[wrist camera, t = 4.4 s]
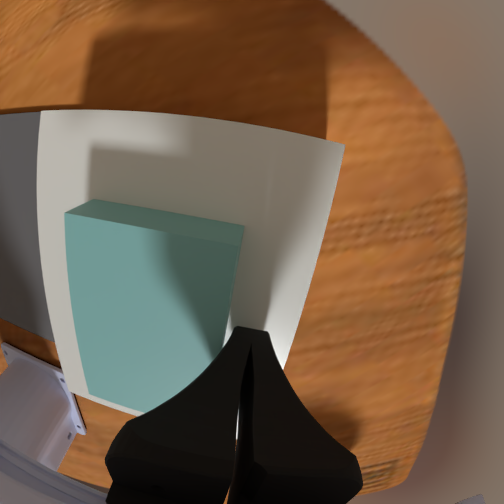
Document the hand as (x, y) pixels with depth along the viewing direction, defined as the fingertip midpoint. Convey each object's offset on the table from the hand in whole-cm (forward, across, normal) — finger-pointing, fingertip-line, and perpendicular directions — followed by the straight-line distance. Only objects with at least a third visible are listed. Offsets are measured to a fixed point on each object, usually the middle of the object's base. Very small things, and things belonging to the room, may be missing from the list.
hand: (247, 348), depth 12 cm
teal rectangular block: (+1, +4, 0) cm, 4 cm away
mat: (+5, +16, 0) cm, 16 cm away
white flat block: (+5, +4, 0) cm, 6 cm away
